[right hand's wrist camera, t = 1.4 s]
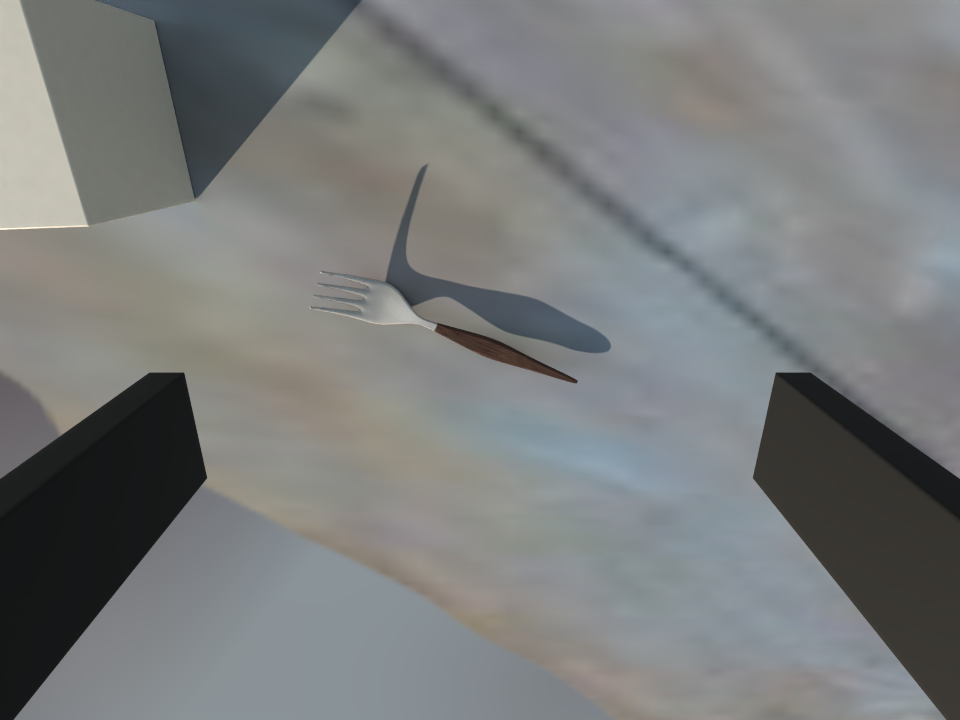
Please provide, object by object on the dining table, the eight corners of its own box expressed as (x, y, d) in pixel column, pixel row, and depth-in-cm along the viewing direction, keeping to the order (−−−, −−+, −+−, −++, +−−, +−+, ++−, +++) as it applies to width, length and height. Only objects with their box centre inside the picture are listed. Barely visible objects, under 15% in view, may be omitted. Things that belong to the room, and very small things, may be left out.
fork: (566, 396, 34) (571, 411, 32) (317, 301, 32) (307, 311, 30) (585, 360, 33) (591, 374, 31) (330, 259, 31) (321, 267, 29)
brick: (23, 26, 27) (-175, -21, 19) (154, 20, 27) (12, -30, 19) (78, 206, 30) (-71, 232, 22) (195, 201, 30) (89, 226, 22)
